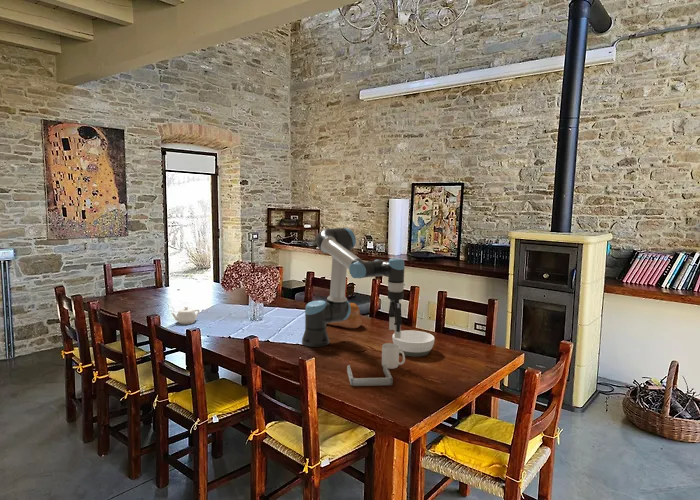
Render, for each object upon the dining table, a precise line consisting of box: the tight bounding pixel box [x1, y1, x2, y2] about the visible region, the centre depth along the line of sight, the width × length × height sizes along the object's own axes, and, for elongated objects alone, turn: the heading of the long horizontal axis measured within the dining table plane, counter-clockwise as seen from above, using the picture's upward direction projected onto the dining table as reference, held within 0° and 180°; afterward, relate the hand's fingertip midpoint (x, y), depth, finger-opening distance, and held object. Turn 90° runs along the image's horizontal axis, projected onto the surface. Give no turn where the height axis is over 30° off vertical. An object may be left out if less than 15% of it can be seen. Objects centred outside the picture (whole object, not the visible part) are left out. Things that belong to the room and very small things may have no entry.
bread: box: [326, 302, 363, 330], centre depth 296 cm, size 14×26×15 cm, turn 59°
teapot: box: [171, 306, 200, 325], centre depth 294 cm, size 20×12×10 cm, turn 142°
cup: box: [381, 342, 406, 370], centre depth 223 cm, size 8×12×10 cm
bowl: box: [392, 329, 435, 358], centre depth 247 cm, size 22×22×8 cm
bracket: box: [346, 364, 394, 387], centre depth 209 cm, size 18×17×3 cm
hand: (394, 333), depth 222 cm, fingers open, 13 cm apart
